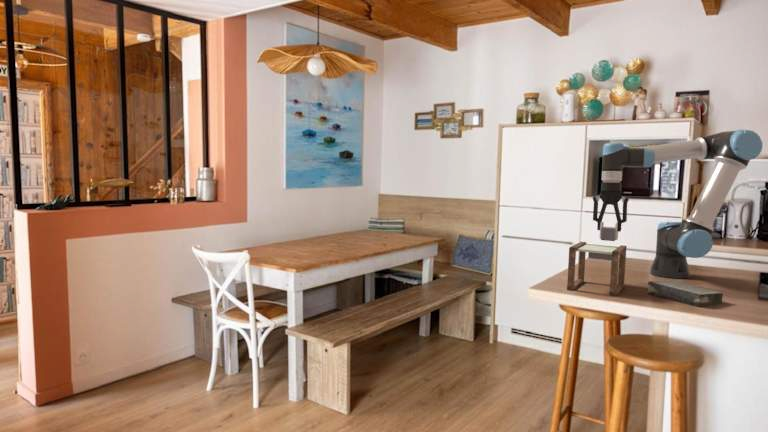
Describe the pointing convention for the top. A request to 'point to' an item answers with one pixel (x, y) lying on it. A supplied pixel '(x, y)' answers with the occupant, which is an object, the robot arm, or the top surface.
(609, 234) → the grey cube
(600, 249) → the hatch
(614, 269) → the walnut frame
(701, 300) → the block
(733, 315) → the top surface
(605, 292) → the top surface
